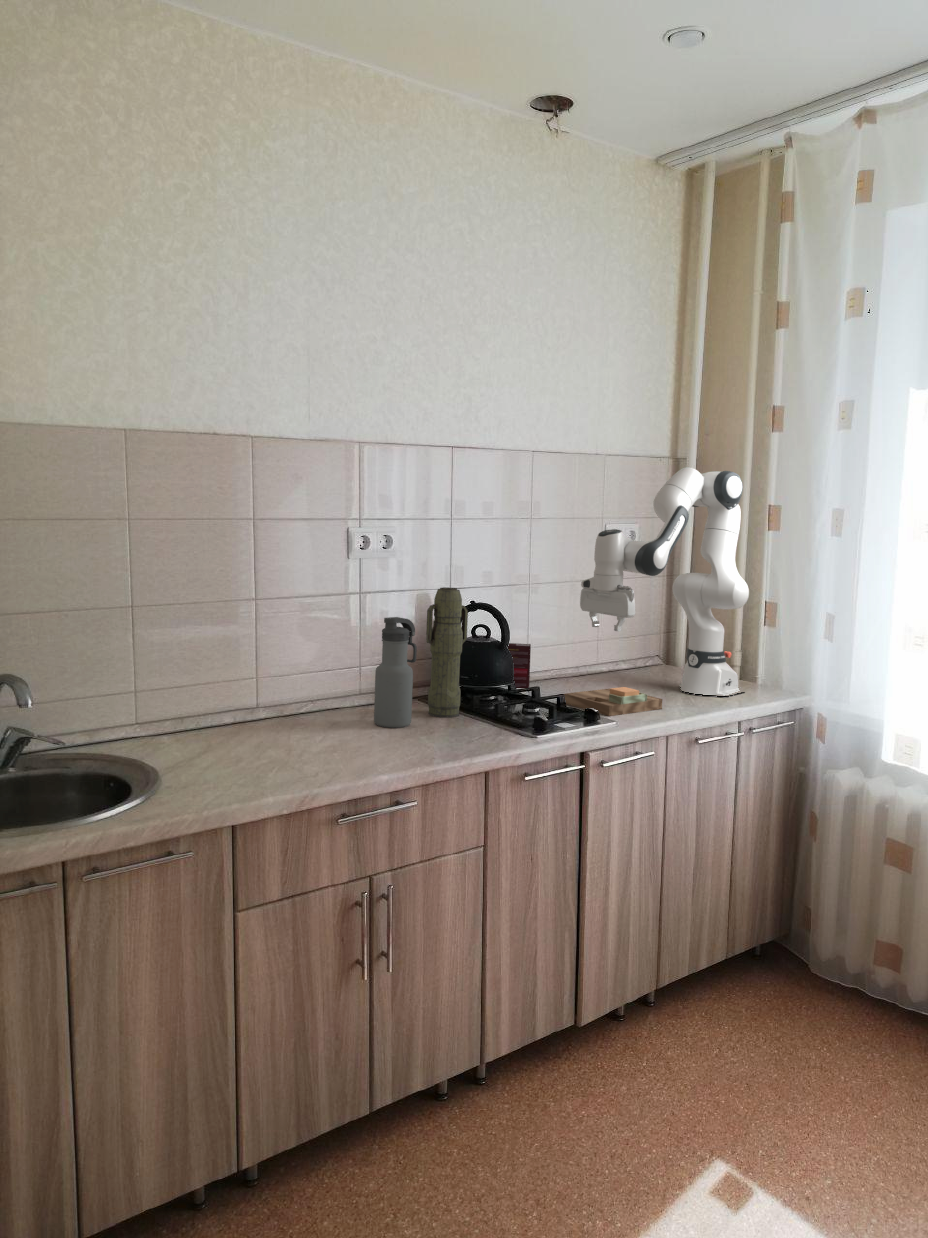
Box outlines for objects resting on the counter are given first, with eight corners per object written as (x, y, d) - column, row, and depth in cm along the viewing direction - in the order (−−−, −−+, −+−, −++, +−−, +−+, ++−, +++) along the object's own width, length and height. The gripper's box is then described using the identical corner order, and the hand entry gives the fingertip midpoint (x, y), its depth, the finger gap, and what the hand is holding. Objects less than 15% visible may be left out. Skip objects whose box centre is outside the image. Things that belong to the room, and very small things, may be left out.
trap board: (615, 697, 290) (616, 681, 290) (661, 709, 275) (662, 692, 274) (563, 703, 277) (564, 687, 277) (608, 716, 262) (609, 698, 262)
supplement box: (529, 693, 290) (531, 643, 288) (528, 696, 285) (531, 645, 283) (501, 692, 291) (503, 642, 289) (500, 695, 286) (502, 644, 284)
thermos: (470, 715, 256) (475, 589, 252) (435, 719, 249) (439, 590, 245) (452, 708, 263) (457, 586, 259) (417, 712, 257) (421, 587, 252)
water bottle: (395, 718, 249) (399, 614, 246) (420, 725, 242) (423, 618, 239) (366, 723, 242) (369, 616, 239) (390, 730, 235) (393, 621, 232)
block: (623, 697, 275) (624, 686, 274) (638, 701, 270) (639, 690, 269) (609, 699, 271) (609, 688, 271) (624, 703, 266) (624, 692, 266)
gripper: (641, 586, 272) (639, 632, 274) (592, 580, 289) (590, 624, 291) (626, 587, 269) (624, 634, 271) (577, 581, 285) (575, 625, 287)
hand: (606, 629), depth 281 cm, fingers open, 8 cm apart
